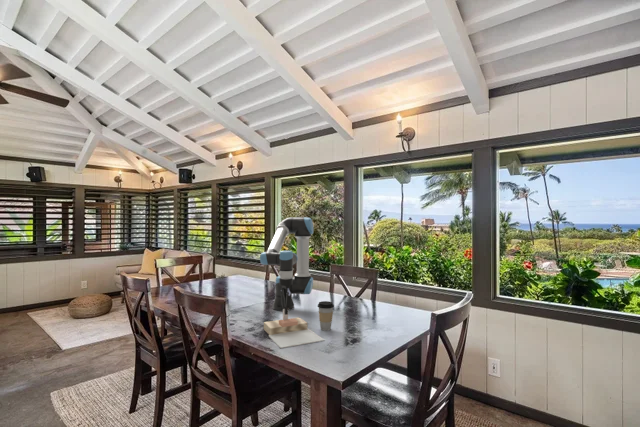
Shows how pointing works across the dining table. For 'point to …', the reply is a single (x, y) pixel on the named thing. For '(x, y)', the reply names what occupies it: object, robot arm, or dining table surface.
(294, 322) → the tile
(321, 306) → the coffee cup
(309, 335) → the mat
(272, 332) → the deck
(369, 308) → the dining table surface
